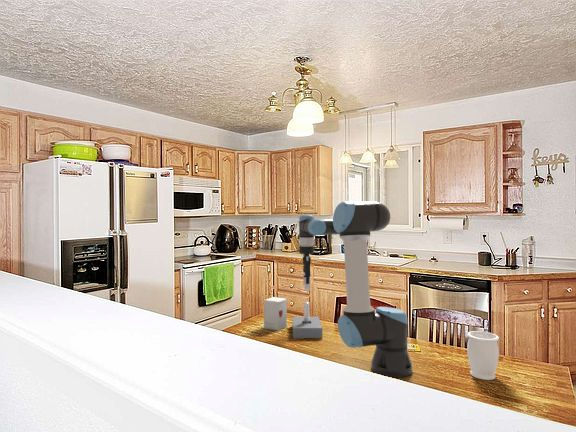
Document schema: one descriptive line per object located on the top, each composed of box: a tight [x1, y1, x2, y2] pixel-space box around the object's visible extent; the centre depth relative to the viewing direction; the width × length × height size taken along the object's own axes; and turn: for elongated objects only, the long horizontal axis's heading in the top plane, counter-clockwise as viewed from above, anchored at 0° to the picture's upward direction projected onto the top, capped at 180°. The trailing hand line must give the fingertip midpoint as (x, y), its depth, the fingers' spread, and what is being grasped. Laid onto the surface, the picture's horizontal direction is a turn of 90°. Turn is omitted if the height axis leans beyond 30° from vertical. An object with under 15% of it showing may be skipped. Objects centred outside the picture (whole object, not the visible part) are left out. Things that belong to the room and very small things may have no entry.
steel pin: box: [303, 301, 311, 323], centre depth 190 cm, size 3×3×15 cm
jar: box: [466, 330, 500, 381], centre depth 138 cm, size 11×10×15 cm
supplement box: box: [263, 296, 288, 331], centre depth 198 cm, size 9×9×15 cm
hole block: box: [291, 316, 323, 340], centre depth 190 cm, size 20×14×5 cm
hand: (306, 287), depth 190 cm, fingers open, 13 cm apart
